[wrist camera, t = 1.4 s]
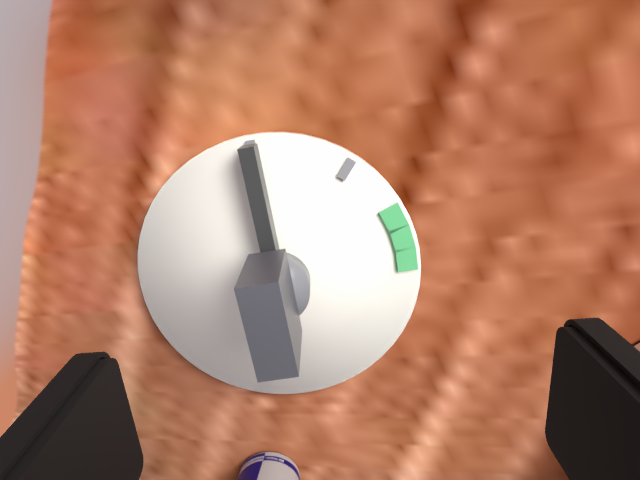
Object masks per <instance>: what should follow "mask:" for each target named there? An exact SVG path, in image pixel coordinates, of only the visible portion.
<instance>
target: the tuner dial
mask: <svg viewBox="0 0 640 480" xmlns="http://www.w3.org/2000/svg"><path fill="white" fill-rule="evenodd" d="M255 143H257V144H258V149H259V154H260V159H261V163H262V168H263V173H264V178H265V182H266V187H267V192H268V197H269V202H270V206H271V211H272V216H273V221H274V225H275V230H276V235H277V240H278V244H279V249H286V253H290V254H292V255H294V256H296V257H297V258H299V259H300V260H301V261H302V262H303V263H304V264H305V266H306V267H307V269H308V271H309V274H310V298H309V302H308V305H307V307H306V309H305V310H304V311H303V313H302V314H301V315H299V317H300V322H301V327H302V342H301V356H300V370H299V377H294V378H287V379H280V380H273V381H266V382H257V378H256V374H255V370H254V366H253V362H252V358H251V354H250V351H249V347H248V343H247V339H246V335H245V331H244V327H243V323H242V319H241V315H240V311H239V307H238V303H237V299H236V295H235V292H234V287H235V285H236V282H237V280H238V278H239V275H240V273H241V270H242V268H243V266H244V263H245V261H246V259H247V256H248V254H254V253H260V248H259V244H258V240H257V235H256V231H255V226H254V222H253V217H252V213H251V209H250V204H249V200H248V195H247V191H246V186H245V182H244V178H243V173H242V169H241V164H240V160H239V155H238V151H237V149H238V148H239V147H241V146H243V145H249V144H255ZM138 274H139V280H140V286H141V290H142V293H143V297H144V300H145V303H146V305H147V308H148V310H149V312H150V314H151V316H152V319H153V320H154V322H155V323H156V325H157V327H158V328H159V330H160V331H161V333H162V334H163V335H164V337H165V338H166V339H167V340H168V342H169V343H170V344H171V345H172V346H173V347H174V348H175V349H176V350H177V351H178V352H179V353H180V354H181V355H182V356H183V357H184V358H185V359H186V360H188V361H189V362H190V363H192V364H193V365H194V366H196V367H197V368H198V369H200V370H202V371H203V372H205V373H207V374H209V375H210V376H212V377H214V378H216V379H218V380H221V381H223V382H225V383H227V384H230V385H233V386H236V387H239V388H242V389H246V390H251V391H256V392H262V393H272V394H296V393H305V392H311V391H316V390H320V389H324V388H328V387H331V386H333V385H336V384H339V383H342V382H344V381H346V380H348V379H350V378H352V377H354V376H356V375H358V374H359V373H361V372H362V371H364V370H365V369H367V368H368V367H370V366H371V365H372V364H373V363H375V362H376V361H377V360H378V359H379V358H381V357H382V356H383V355H384V354H385V353H386V352H387V351H388V349H389V348H390V347H391V346H392V345H393V344H394V343H395V341H396V340H397V339H398V337H399V336H400V334H401V333H402V331H403V330H404V328H405V326H406V324H407V322H408V320H409V319H410V317H411V314H412V311H413V309H414V306H415V303H416V300H417V295H418V291H419V286H420V275H421V260H420V249H419V245H418V240H417V235H416V232H415V229H414V226H413V224H412V221H411V218H410V216H409V214H408V212H407V210H406V209H405V207H404V205H403V203H402V201H401V200H400V198H399V197H398V195H397V194H396V192H395V191H394V190H393V188H392V187H391V186H390V184H389V183H388V182H387V180H386V179H385V178H384V177H383V176H382V175H381V174H380V173H379V172H378V171H377V170H376V169H375V168H374V167H373V166H371V165H370V164H369V163H368V162H366V161H365V160H364V159H362V158H361V157H360V156H358V155H357V154H355V153H353V152H352V151H350V150H348V149H346V148H345V147H343V146H341V145H339V144H336V143H334V142H331V141H329V140H326V139H324V138H320V137H316V136H313V135H309V134H305V133H297V132H289V131H264V132H257V133H251V134H245V135H242V136H238V137H235V138H231V139H228V140H226V141H223V142H221V143H219V144H217V145H214V146H212V147H210V148H208V149H207V150H205V151H203V152H202V153H200V154H199V155H197V156H195V157H194V158H192V159H191V160H189V161H188V162H187V163H185V164H184V165H183V166H182V167H181V168H180V169H178V170H177V171H176V172H175V173H174V174H173V175H172V176H171V177H170V178H169V180H168V181H167V182H166V183H165V184H164V185H163V186H162V188H161V189H160V191H159V192H158V194H157V196H156V197H155V199H154V200H153V202H152V204H151V206H150V208H149V210H148V212H147V215H146V217H145V219H144V223H143V226H142V230H141V234H140V238H139V246H138Z"/></svg>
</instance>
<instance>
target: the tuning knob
mask: <svg viewBox="0 0 640 480" xmlns="http://www.w3.org/2000/svg"><path fill="white" fill-rule="evenodd" d="M237 151H238V155H239V160H240V164H241V169H242V173H243V178H244V182H245V186H246V191H247V195H248V200H249V204H250V209H251V213H252V217H253V222H254V226H255V231H256V235H257V240H258V244H259V248H260V253H254V254H248V256H247V259H246V261H245V263H244V266H243V268H242V270H241V273H240V275H239V278H238V280H237V282H236V285H235V287H234V292H235V295H236V299H237V303H238V307H239V311H240V315H241V319H242V323H243V327H244V331H245V335H246V339H247V343H248V347H249V351H250V354H251V358H252V362H253V366H254V370H255V374H256V378H257V382H266V381H273V380H280V379H287V378H294V377H299V370H300V356H301V342H302V327H301V322H300V317H299V315H301V314H302V313H303V311H304V310H305V309H306V307H307V305H308V302H309V298H310V274H309V271H308V269H307V267H306V266H305V264H304V263H303V262H302V261H301V260H300V259H299V258H297V257H296V256H294V255H292V254H290V253H286V249H279V244H278V240H277V235H276V230H275V225H274V221H273V216H272V211H271V206H270V202H269V197H268V192H267V187H266V182H265V178H264V173H263V168H262V163H261V159H260V154H259V149H258V144H257V143H255V144H249V145H243V146H241V147H239V148H238V149H237Z"/></svg>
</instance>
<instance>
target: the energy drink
mask: <svg viewBox="0 0 640 480" xmlns="http://www.w3.org/2000/svg"><path fill="white" fill-rule="evenodd" d="M238 480H300V472H299V469H298V467H297V465H296V464H295V463H294V462H293V461H292V460H291V459H290V458H289V457H287V456H286V455H283V454H281V453H277V452H271V451H269V452H261V453H258V454H255V455H253V456H252V457H250V458H248V459H247V460H246V461H245V462H244V463H243V465H242V466H241V469H240V473H239V477H238Z"/></svg>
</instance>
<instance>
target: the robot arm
mask: <svg viewBox="0 0 640 480" xmlns="http://www.w3.org/2000/svg"><path fill="white" fill-rule="evenodd" d="M545 433H546V439H547V442H548V445H549V447H550V449H551V451H552V452H553V454H554V455H555V457H556V459H557V460H558V462H559V463H560V465H561V466H562V468H563V470H564V471H565V473H566V474H567V476H568V478H569V479H570V480H640V343H638V344H637V345H635V346H633V345H631V344H630V343H629V342H628V341H627V340H625V339H624V338H623V337H622V336H621V335H619V334H618V333H617V332H616V331H615V330H613V329H612V328H611V327H610V326H609V325H607V324H606V323H605V322H604V321H603V320H601V319H599V318H585V319H570V320H568V321H566V323H565V324H564V327H560V328H558V330H557V333H556V340H555V349H554V358H553V366H552V375H551V384H550V392H549V401H548V410H547V419H546V427H545ZM142 468H143V454H142V450H141V446H140V442H139V439H138V435H137V431H136V428H135V424H134V420H133V417H132V413H131V409H130V405H129V402H128V398H127V394H126V391H125V387H124V383H123V380H122V376H121V372H120V368H119V365H118V362H117V360H116V359H114V358H110V356H109V355H108V354H107V353H106V352H94V353H80V354H76V355H74V356H73V357H72V358H71V359H70V360H69V361H68V363H67V364H66V365H65V366H64V367H63V368H62V369H61V370H60V371H59V373H58V374H57V375H56V376H55V377H54V378H53V379H52V380H51V381H50V383H49V384H48V385H47V386H46V387H45V388H44V389H43V390H42V392H41V393H40V394H39V395H38V396H37V397H36V398H35V399H34V400H33V402H32V403H31V404H30V405H29V406H28V407H27V408H26V409H25V410H24V412H23V413H22V414H21V415H20V416H19V417H18V418H17V419H16V421H15V422H14V423H13V424H12V425H11V426H10V427H9V428H8V429H7V431H6V432H5V433H4V434H3V435H2V436H1V437H0V480H138V479H139V477H140V475H141V472H142Z"/></svg>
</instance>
